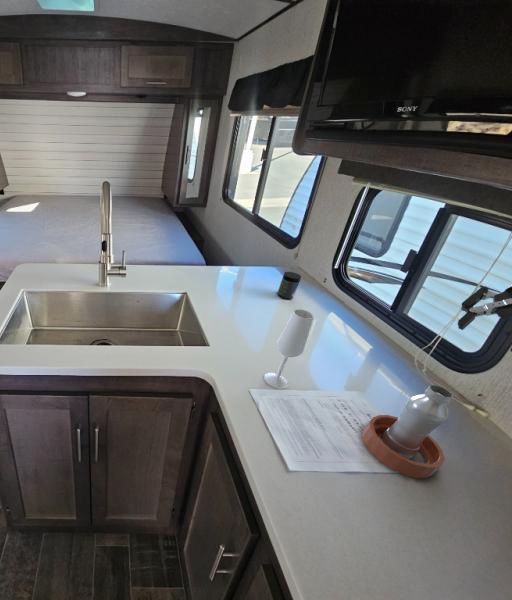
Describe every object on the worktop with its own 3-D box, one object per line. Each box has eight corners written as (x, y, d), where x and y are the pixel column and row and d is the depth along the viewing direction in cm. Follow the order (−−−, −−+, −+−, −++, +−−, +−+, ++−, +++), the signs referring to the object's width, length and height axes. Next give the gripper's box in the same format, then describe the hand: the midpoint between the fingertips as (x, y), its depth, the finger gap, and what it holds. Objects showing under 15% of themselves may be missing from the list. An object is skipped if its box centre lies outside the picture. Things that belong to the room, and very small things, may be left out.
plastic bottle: (374, 433, 80) (417, 375, 70) (408, 447, 77) (457, 387, 67) (377, 454, 75) (423, 394, 65) (413, 468, 73) (467, 408, 62)
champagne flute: (292, 389, 93) (323, 321, 81) (270, 388, 93) (297, 320, 81) (281, 372, 99) (309, 307, 87) (260, 372, 99) (284, 306, 86)
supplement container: (289, 301, 137) (298, 280, 132) (274, 295, 141) (281, 274, 136) (295, 296, 142) (303, 275, 136) (280, 291, 146) (287, 270, 140)
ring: (412, 437, 80) (424, 423, 78) (443, 490, 69) (458, 475, 66) (352, 423, 84) (361, 408, 81) (371, 471, 72) (383, 456, 70)
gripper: (595, 308, 63) (529, 366, 65) (499, 277, 74) (444, 328, 76) (608, 289, 59) (536, 352, 60) (503, 259, 70) (444, 313, 72)
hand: (485, 338), depth 68 cm, fingers open, 8 cm apart
